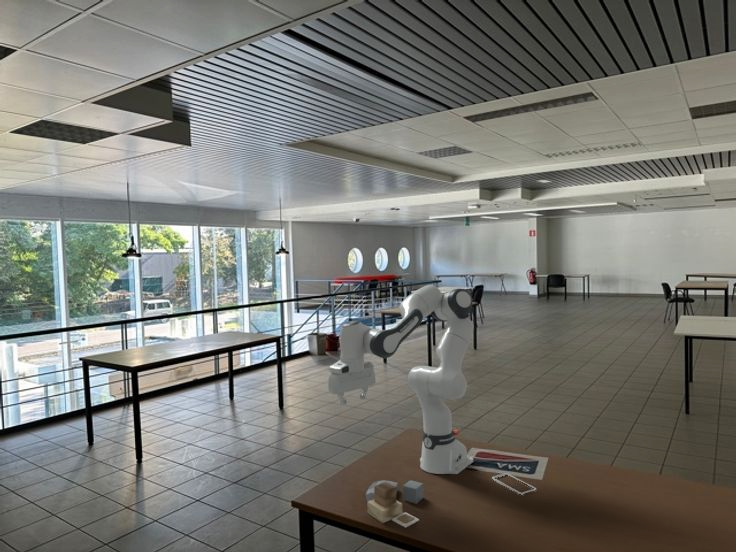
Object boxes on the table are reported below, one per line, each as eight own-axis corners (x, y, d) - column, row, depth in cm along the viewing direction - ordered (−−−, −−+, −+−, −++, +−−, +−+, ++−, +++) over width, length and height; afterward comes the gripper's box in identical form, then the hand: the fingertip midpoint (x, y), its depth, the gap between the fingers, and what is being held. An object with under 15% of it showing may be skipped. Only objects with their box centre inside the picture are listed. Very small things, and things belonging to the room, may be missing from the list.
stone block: (365, 508, 164) (393, 506, 162) (362, 494, 165) (390, 491, 162) (374, 494, 176) (400, 491, 173) (371, 480, 176) (397, 477, 173)
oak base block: (387, 506, 162) (387, 494, 162) (402, 516, 156) (402, 503, 156) (367, 513, 158) (367, 501, 158) (382, 524, 151) (382, 511, 151)
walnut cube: (386, 496, 161) (386, 481, 160) (396, 502, 157) (396, 486, 157) (374, 501, 157) (374, 486, 157) (384, 507, 154) (384, 491, 153)
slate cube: (410, 494, 170) (410, 480, 170) (423, 497, 167) (423, 483, 167) (403, 500, 166) (403, 485, 165) (416, 504, 163) (416, 489, 163)
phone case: (491, 480, 179) (521, 497, 166) (491, 476, 179) (521, 493, 166) (506, 476, 183) (537, 492, 169) (506, 472, 183) (537, 488, 169)
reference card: (405, 513, 157) (405, 511, 157) (419, 520, 152) (419, 518, 152) (392, 520, 153) (391, 518, 153) (405, 527, 148) (405, 525, 148)
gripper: (367, 359, 191) (368, 394, 192) (325, 368, 178) (326, 405, 178) (378, 361, 187) (379, 397, 187) (335, 370, 173) (337, 409, 173)
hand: (353, 401), depth 182 cm, fingers open, 8 cm apart
